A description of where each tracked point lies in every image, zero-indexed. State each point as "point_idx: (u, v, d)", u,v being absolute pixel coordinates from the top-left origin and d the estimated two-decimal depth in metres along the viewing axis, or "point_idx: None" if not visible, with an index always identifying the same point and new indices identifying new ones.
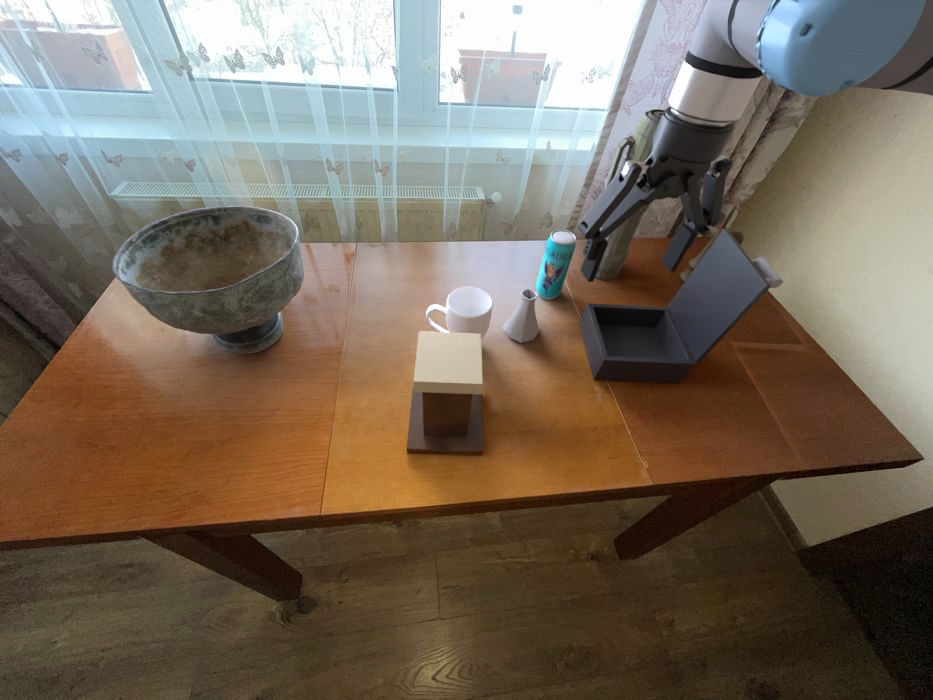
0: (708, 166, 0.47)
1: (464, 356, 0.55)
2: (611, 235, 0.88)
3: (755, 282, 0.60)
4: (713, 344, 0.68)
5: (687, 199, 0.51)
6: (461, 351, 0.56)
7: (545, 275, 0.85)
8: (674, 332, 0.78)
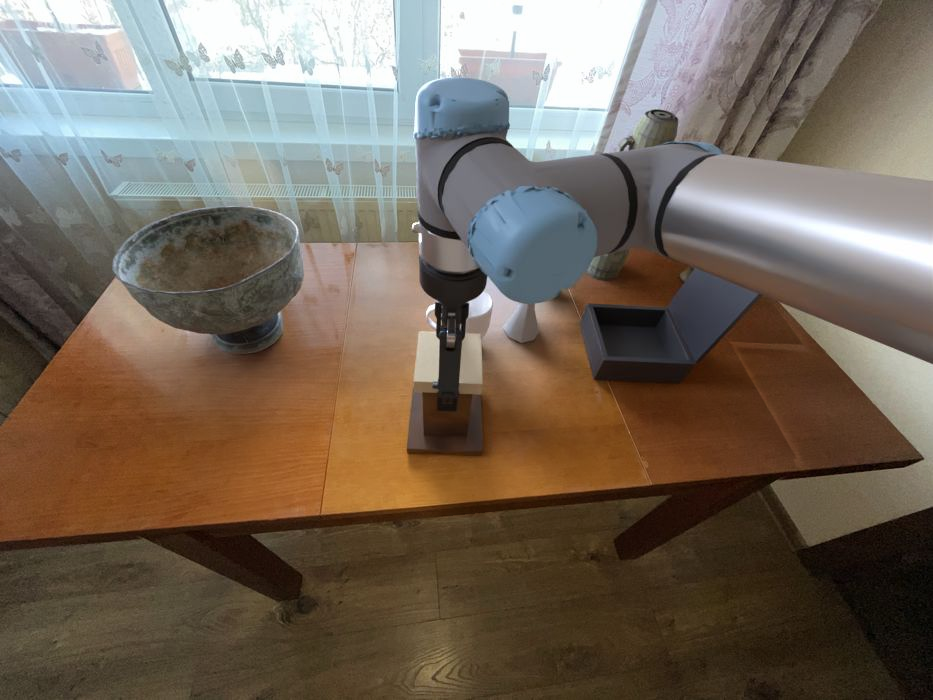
0: None
1: (464, 356, 0.55)
2: None
3: None
4: (713, 344, 0.68)
5: None
6: (461, 351, 0.56)
7: None
8: (674, 332, 0.78)
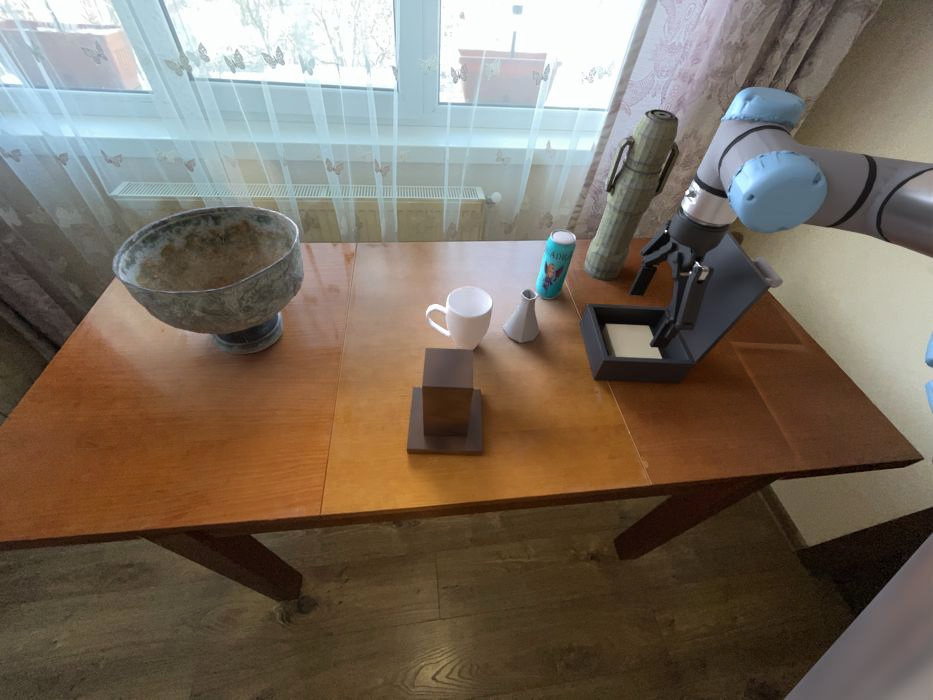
0: None
1: (643, 340, 0.79)
2: (611, 235, 0.88)
3: (755, 282, 0.60)
4: (713, 344, 0.68)
5: None
6: (640, 338, 0.79)
7: (545, 275, 0.85)
8: None
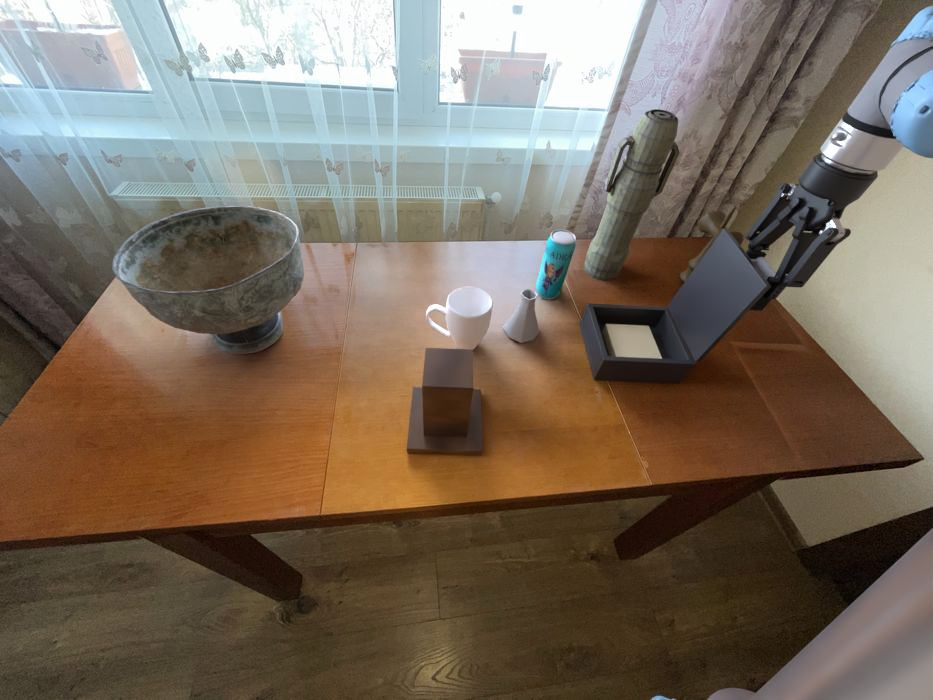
0: None
1: (643, 340, 0.79)
2: (611, 235, 0.88)
3: (755, 282, 0.60)
4: (713, 344, 0.68)
5: (792, 224, 0.61)
6: (640, 338, 0.79)
7: (545, 275, 0.85)
8: (674, 332, 0.78)
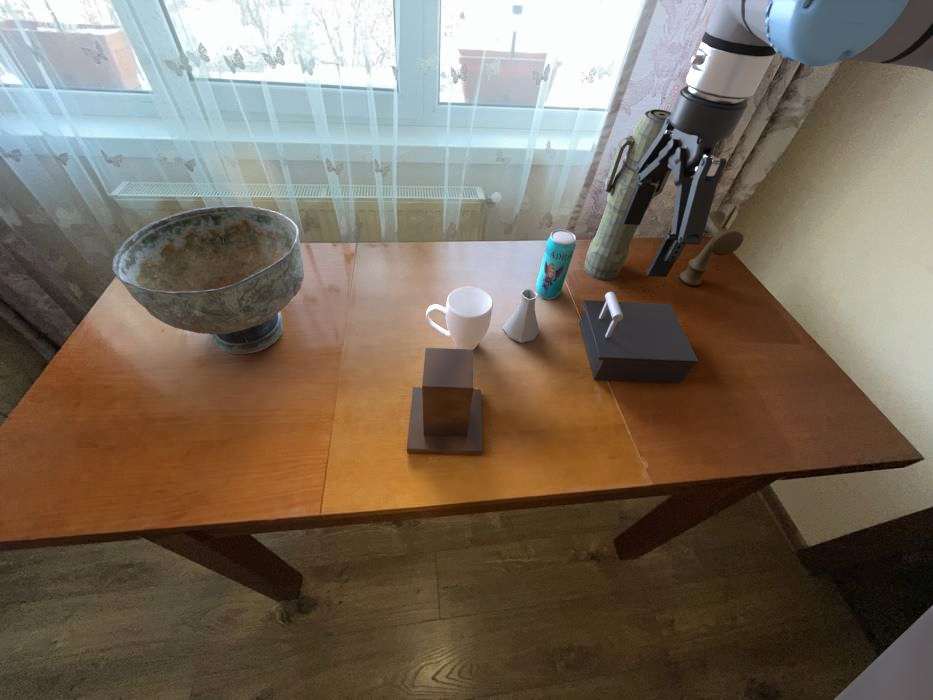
0: None
1: None
2: (611, 235, 0.88)
3: None
4: (670, 361, 0.72)
5: None
6: None
7: (545, 275, 0.85)
8: None
